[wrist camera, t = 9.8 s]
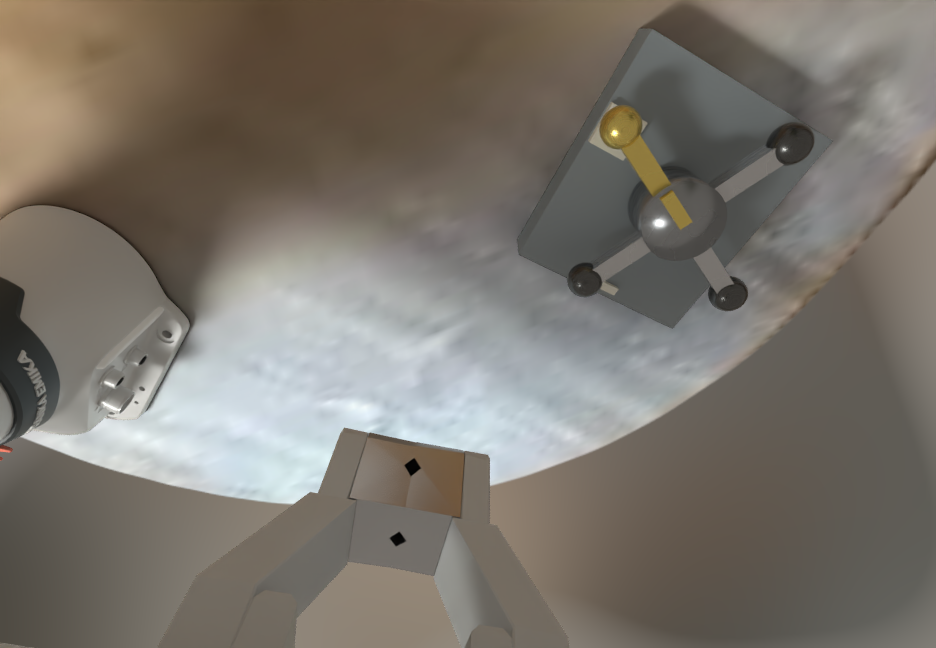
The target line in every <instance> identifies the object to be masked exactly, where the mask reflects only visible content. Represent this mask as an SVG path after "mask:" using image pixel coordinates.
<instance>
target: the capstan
mask: <svg viewBox="0 0 936 648" xmlns="http://www.w3.org/2000/svg"><path fill="white" fill-rule="evenodd" d="M641 131H642V119H641V116H640V114H639V113H638V111H637V110H636V109H634V108H633V107H631V106H627V105H619V106H616V107H613V108H612V109H610V110H609V111H608V112H606V114H605V115H604V116H603V118H602V120H601V122H600V127H599V133H600V137H601V139H602V141H603V142H604V144H605V145H607V146H608V147H610V148H612V149H621V151H622V152H623V154H624V155H625V157H626V158H627V160H628V161H629V163H630V164H631V166H632V167H633V169H634V171H635V172H636V174H637V175H638V177H639V178H640V181H639V182H638V184H637V185H636V186H635V188H634V189H633V191H632V193H631V195H630V198H629V202H628V215H629V219H630V221H631V223H632V225H633V226H634V228H635V229H636V232H634V233H633V234H631V235H630V236H628V237H627V238H625V239H624V240H622V241H621V242H619V243H618V244H616V245H615V246H613V247H612V248H610V249H609V250H608V251H606V252H605V253H603V254H602V255H600V256H599V257H597V258H596V259H594V260H593V261H591V262H590V263H589V262H583V263H579V264H577V265H575V266H574V267H573V268H572V269H571V270H570V272H569V274H568V277H567V283H568V287H569V289H570V290H571V291H572V292H573V293H574V294H575V295H577V296H580V297H590V296H592V295H594V294H596V293H597V292H598V291H599V290H600V288H601V286H602V283H603V282H604V281H606V280H607V279H609V278H610V277H612V276H613V275H615V274H616V273H618V272H619V271H621V270H622V269H624V268H626V267H627V266H629V265H630V264H632V263H633V262H635V261H636V260H638V259H639V258H641V257H642V256H644V255H646V254H647V253H649V252H650V251H651V252H652V253H654V254H655V255H656V256H658V257H660V258H662V259H666V260H670V261H683V260H688V259H691V258H692V259H693V260H694V262H695V263H696V265H697V266H698V268H699V269H700V271H701V272H702V274H703V275H704V277H705V278H706V280H707V281H708V283H709V284H710V288H709V292H708V296H709V300H710V302H711V304H712V305H713V306H714V307H716V308H717V309H719V310H722V311H733V310H736V309H738V308H740V307H741V306H742V305H743V304H744V303H745V301H746V299H747V296H748V290H747V287H746V285H745V284H744V282H743V281H741V280H740V279H738V278H736V277H732V276H729V275H728V273H727V272H726V270H725V269H724V267H723V265H722V264H721V262H720V261H719V259H718V257H717V256H716V254H715V253H714V251H713V250H712V248H711V247H712V246H713V245H714V244H715V243H716V241H717V240H718V239H719V237H720V236H721V234H722V232H723V230H724V228H725V225H726V221H727V207H726V204H725V203H726V202H727V201H729V200H730V199H732V198H733V197H735V196H736V195H738V194H739V193H741V192H743V191H744V190H746V189H747V188H749V187H750V186H752V185H753V184H755V183H756V182H758V181H759V180H761V179H763V178H764V177H766V176H767V175H769V174H770V173H772V172H773V171H775V170H776V169H778V168H779V167H781V166H790V165H794V164H797V163H799V162H801V161H802V160H804V159H805V158H806V157H807V156H808V155H809V154H810V152H811V151H812V149H813V147H814V143H815V137H814V133H813V131H812V130H811V128H810V127H808V126H807V125H805V124H803V123H799V122H790V123H786V124H783V125H781V126H779V127H778V128H776V129H775V130H774V131H773V132H772V133H771V134H770V136H769V137H768V139H767V142H766V144H765V145H763V146H762V147H760V148H759V149H757V150H756V151H754V152H753V153H751V154H750V155H748V156H747V157H745V158H744V159H742V160H741V161H739V162H738V163H736V164H735V165H733V166H732V167H730V168H729V169H728V170H726V171H725V172H723V173H722V174H720V175H719V176H717V177H716V178H714V179H713V180H711V181H710V182H708V183H706V182H704V181H703V180H702V179H700V178H699V177H698V176H696V175H695V174H694V173H692V172H691V171H689V170H687V169H685V168H682V167H677V166H669V167H663V168H661V167H660V166H659V164H658V162H657V161H656V159H655V158H654V156H653V155H652V153H651V151H650V150H649V148H648V147H647V145H646V143H645V142H644V140H643V139H642V137H641V136H640V134H641Z"/></svg>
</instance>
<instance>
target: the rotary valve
mask: <svg viewBox="0 0 936 648" xmlns="http://www.w3.org/2000/svg"><path fill="white" fill-rule="evenodd" d="M619 105H627V106H631V107H633V108H634V109H636V110H637V111H638V113H639V114H640V116H641V119H642V131H641V134H640V136H641V137H642V139H643V140H644V142H645V143H646V145H647V147H648V148H649V150H650V151H651V153H652V155H653V156H654V158H655V159H656V161H657V162H658V164H659V166H660V167H661V168H663V167H669V166H677V167H682V168H685V169H687V170H689V171H691V172H692V173H694V174H695V175H696V176H698V177H699V178H700V179H702V180H703V181H704V182H706V183H708V182H710V181H711V180H713V179H714V178H716V177H717V176H719V175H720V174H722V173H723V172H725V171H726V170H728V169H729V168H730V167H732V166H733V165H735V164H736V163H738V162H739V161H741V160H742V159H744V158H745V157H747V156H748V155H750V154H751V153H753V152H754V151H756V150H757V149H759V148H760V147H762V146H763V145H765V144H766V142H767V139H768V137H769V136H770V134H771V133H772V132H773V131H774V130H775V129H776V128H778V127H779V126H781V125H783V124H786V123H790V122H799V123H803V122H802V121H800V120H799V119H797V118H795V117H794V116H792V115H790V114H789V113H787V112H786V111H784V110H782V109H781V108H779V107H778V106H776V105H774V104H773V103H771V102H770V101H768V100H766V99H765V98H763V97H761V96H760V95H758V94H757V93H755V92H753V91H752V90H750V89H749V88H747V87H745V86H744V85H742V84H741V83H739V82H737V81H736V80H734V79H732V78H731V77H729V76H728V75H726V74H724V73H723V72H721V71H720V70H718V69H716V68H715V67H713V66H711V65H710V64H708V63H707V62H705V61H703V60H702V59H700V58H699V57H697V56H695V55H694V54H692V53H691V52H689V51H687V50H686V49H684V48H682V47H681V46H679V45H678V44H676V43H674V42H673V41H671V40H670V39H668V38H666V37H665V36H663V35H662V34H660V33H658V32H657V31H655V30H653V29H639V30H638V32H637V34H636V35H635V37H634V39H633V40H632V42H631V44H630V46H629V47H628V49H627V51H626V53H625V54H624V56H623V58H622V59H621V61H620V63H619V65H618V66H617V68H616V70H615V72H614V73H613V75H612V77H611V78H610V80H609V82H608V84H607V85H606V87H605V89H604V91H603V92H602V94H601V96H600V97H599V99H598V101H597V103H596V104H595V106H594V108H593V110H592V111H591V113H590V115H589V116H588V118H587V120H586V122H585V123H584V125H583V127H582V129H581V130H580V132H579V134H578V135H577V137H576V139H575V141H574V142H573V144H572V146H571V148H570V149H569V151H568V153H567V154H566V156H565V158H564V160H563V161H562V163H561V165H560V167H559V168H558V170H557V172H556V173H555V175H554V177H553V179H552V180H551V182H550V184H549V185H548V187H547V189H546V191H545V192H544V194H543V196H542V198H541V199H540V201H539V203H538V204H537V206H536V208H535V210H534V211H533V213H532V215H531V217H530V218H529V220H528V222H527V223H526V225H525V227H524V229H523V230H522V232H521V234H520V236H519V237H518V239H517V243H518V253H519V255H520V256H523V257H525V258H527V259H529V260H531V261H533V262H535V263H537V264H539V265H541V266H543V267H545V268H547V269H549V270H552V271H554V272H556V273H558V274H560V275H562V276H564V277H566V278H567V277H568V274H569V272H570V270H571V269H572V268H573V267H574V266H575V265H577V264H579V263H583V262H589V263H590V262H591V261H593V260H594V259H596V258H597V257H599V256H600V255H602V254H603V253H605V252H606V251H608V250H609V249H610V248H612V247H613V246H615V245H616V244H618V243H619V242H621V241H622V240H624V239H625V238H627V237H628V236H630V235H631V234H633V233H634V232H636V229H635V228H634V226H633V225H632V223H631V221H630V219H629V215H628V202H629V198H630V195H631V193H632V191H633V189H634V188H635V186H636V185H637V184H638V182H639V181H640V178H639V177H638V175H637V174H636V172H635V171H634V169H633V167H632V166H631V164H630V163H629V161H628V160H627V158H626V157H625V155H624V154H623V152H622V151H621V149H612V148H610V147H608V146H607V145H605V144H604V142H603V141H602V139H601V137H600V133H599V127H600V122H601V120H602V118H603V116H604V115H605V114H606V112H608V111H609V110H610V109H612V108H613V107H616V106H619ZM803 124H805V123H803ZM805 125H807V124H805ZM807 126H808V125H807ZM808 127H810V126H808ZM810 128H811V127H810ZM811 130H812V131H813V133H814V137H815V143H814V147H813V149H812V151H811V152H810V154H809V155H808V156H807V157H806V158H805V159H804V160H802V161H801V162H799V163H797V164H794V165H790V166H781V167H779V168H778V169H776V170H775V171H773V172H772V173H770V174H769V175H767V176H766V177H764V178H763V179H761V180H759V181H758V182H756V183H755V184H753V185H752V186H750V187H749V188H747V189H746V190H744V191H743V192H741V193H739V194H738V195H736V196H735V197H733V198H732V199H730V200H729V201H727V202H726V203H725V204H726V207H727V221H726V225H725V228H724V230H723V232H722V234H721V236H720V237H719V239H718V240H717V241H716V243H715V244H714V245H713V246H712V247H711V248H712V250H713V251H714V253H715V254H716V256H717V257H718V259H719V261H720V262H721V264H722V265H723V267H724V268H725V267H726V266H727V264H728V263H729V262H730V261H731V260H732V259H733V257H734V256H735V255H736V254H737V253H738V251H739V250H740V249H741V248H742V247H743V246H744V244H745V243H746V242H747V241H748V240H749V239H750V237H751V236H752V235H753V234H754V233H755V232H756V230H757V229H758V228H759V227H760V226H761V225H762V223H763V222H764V221H765V220H766V219H767V218H768V216H769V215H770V214H771V213H772V212H773V211H774V209H775V208H776V207H777V206H778V205H779V204H780V202H781V201H782V200H783V199H784V198H785V197H786V195H787V194H788V193H789V192H790V191H791V190H792V188H793V187H794V186H795V185H796V184H797V183H798V181H799V180H800V179H801V178H802V177H803V176H804V174H805V173H806V172H807V171H808V170H809V169H810V167H811V166H812V165H813V164H814V163H815V162H816V160H817V159H818V158H819V157H820V156H821V155H822V153H823V152H824V151H825V150H826V149H827V148H828V146H829V145H830V144H831V143H832V142H833V141H832V140H831V139H829V138H828V137H826V136H824V135H823V134H821V133H819V132H818V131H816V130H815V129H813V128H811ZM709 285H710V284H709V283H708V281H707V280H706V278H705V277H704V275H703V274H702V272H701V271H700V269H699V268H698V266H697V265H696V263H695V262H694V260H693V259H692V258H691V259H688V260H683V261H670V260H666V259H662V258H660V257H658V256H656V255H655V254H654V253H652V252H651V251H650V252H649V253H647V254H646V255H644V256H642V257H641V258H639V259H638V260H636V261H635V262H633V263H632V264H630V265H629V266H627V267H626V268H624V269H622V270H621V271H619V272H618V273H616V274H615V275H613V276H612V277H610V278H609V279H607V280H606V281H604V282H603V283H602V286H601V288H600V290H599V291H598V292H597V293H599V294H601V295H603V296H605V297H608V298H610V299H612V300H614V301H616V302H618V303H620V304H622V305H624V306H626V307H628V308H630V309H632V310H634V311H637V312H639V313H641V314H643V315H645V316H647V317H649V318H651V319H653V320H655V321H657V322H659V323H661V324H664V325H666V326H668V327H670V328H672V329H673V327H674V326H675V325H676V324H677V323H678V322H679V320H680V319H681V318H682V317H683V316H684V315H685V313H686V312H687V311H688V310H689V309H690V308H691V306H692V305H693V304H694V303H695V302H696V301H697V299H698V298H699V297H700V296H701V295H702V294H703V292H704V291H705V290H706V289H707V288H708V287H709Z"/></svg>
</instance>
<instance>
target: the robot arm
mask: <svg viewBox="0 0 936 648" xmlns="http://www.w3.org/2000/svg"><path fill="white" fill-rule="evenodd" d="M189 326H190V324H189V321H188V319H187V318H186V316H185V315H184V314H183V313H182V312H181V310H180V309H179V308H178V307H177V306H176V305H175V304H174V303H173V302H172V301H170V300H169V299H168V298H167V296H166V295H165V293H164V292H163V290H162V288H161V286H160V285H159V283H158V281H157V279H156V277H155V275H154V273H153V272H152V270H151V269H150V267H149V266H148V264H147V263H146V262H145V260H144V259H143V258H142V257H141V255H140V254H139V253H138V252H137V251H136V250H135V249H134V248H133V247H132V246H131V245H130V244H129V243H128V242H127V241H125V240H124V239H123V238H122V237H121V236H119V235H118V234H117V233H115V232H114V231H113V230H111V229H110V228H108V227H107V226H105V225H103V224H102V223H100V222H98V221H96V220H94V219H92V218H90V217H88V216H86V215H83V214H81V213H78V212H75V211H72V210H69V209H65V208H61V207H55V206H46V205H36V206H28V207H23V208H20V209H17V210H15V211H13V212H11V213H9V214H8V215H6V216H5V217H4V218H3V219H1V220H0V452H12V450H13V449H12V448H10V447H7V446H4V445H3V444H5V443H7V442H9V441H12V440H14V439H16V438H18V437H20V436H22V435H24V434H27V433H29V432H30V431H32V430H33V431H39V432H45V433H51V434H59V435H77V434H82V433H86V432H88V431H90V430H91V429H93V428H94V427H95V426H96V425H97V424H98V423H100V422H101V421H102V420H103V419H104V418H107V419H114V420H134V419H138V418H139V417H140V416H141V415H142V414H144V412H145V411H146V409H147V408H148V406H149V404H150V402H151V400H152V398H153V396H154V394H155V393H156V391H157V389H158V387H159V385H160V383H161V381H162V379H163V377H164V375H165V374H166V372H167V370H168V368H169V366H170V364H171V362H172V360H173V358H174V357H175V355H176V353H177V351H178V349H179V347H180V345H181V343H182V341H183V339H184V338H185V336H186V334H187V332H188V330H189ZM168 331H169V332H170V333H169V332H168ZM0 460H3V458H2V457H0ZM347 562H355V563H362V564H369V565H376V566H383V567H391V568H396V569H401V570H406V571H411V572H416V573H422V574H426V575H431V576H434V581H435V583H436V586H437V588H438V591H439V593H440V596H441V598H442V601H443V603H444V606H445V608H446V611H447V613H448V616H449V618H450V621H451V623H452V626H453V628H454V631H455V633H456V636H457V638H458V641H459V643H460V646H461V648H569V640H568V636H567V635H566V633H565V632H564V630H563V628H562V627H561V625H560V624H559V622H558V620H557V619H556V617H555V616H554V614H553V613H552V611H551V609H550V608H549V607H548V605H547V603H546V602H545V600H544V599H543V597H542V596H541V594H540V592H539V591H538V589H537V588H536V586H535V584H534V583H533V581H532V580H531V578H530V577H529V575H528V573H527V572H526V570H525V569H524V567H523V566H522V564H521V563H520V561H519V559H518V558H517V556H516V555H515V553H514V551H513V550H512V548H511V547H510V545H509V544H508V542H507V540H506V539H505V537H504V536H503V534H502V533H501V531H500V530H499V528H498V526H497V525H492V524H490V458H489V456H488V455H485V454H480V453H474V452H469V451H463V450H458V449H452V448H446V447H441V446H435V445H430V444H424V443H418V442H417V443H416V442H411V441H407V440H402V439H397V438H393V437H388V436H383V435H379V434H374V433H367V432H362V431H358V430H353V429H348V428H344V429H343V431H342V432H341V433H340V436H339V439H338V441H337V444H336V447H335V449H334V452H333V455H332V457H331V460H330V463H329V465H328V468H327V471H326V473H325V476H324V479H323V481H322V484H321V487H320V489H319V492H318V493H313V492H310V493H308V494H307V495H306V496H304V497H303V498H302V499H300V500H299V501H298V502H296V503H295V504H293V505H292V506H291V507H289V508H288V509H287V510H285V511H284V512H283V513H281V514H280V515H278V516H277V517H276V518H274V519H273V520H272V521H270V522H269V523H268V524H266V525H265V526H263V527H262V528H261V529H259V530H258V531H257V532H256V533H254V534H253V535H251V536H250V537H249V538H247V539H246V540H244V541H243V542H242V543H240V544H239V545H238V546H236V547H235V548H233V549H232V550H231V551H229V552H228V553H227V554H225V555H224V556H223V557H221V558H220V559H219V560H217V561H216V562H215V563H213V564H212V565H210V566H209V567H208V568H206V569H205V570H204V571H202V572H201V573H200V574H198V575H197V576H196V578H195V579H194V581H193V583H192V585H191V587H190V588H189V590H188V592H187V594H186V596H185V597H184V600H183V601H182V603H181V605H180V607H179V609H178V610H177V612H176V614H175V616H174V618H173V619H172V621H171V623H170V625H169V627H168V629H167V631H166V632H165V634H164V636H163V638H162V640H161V641H160V643H159V645H158V647H157V648H295V634H296V619H297V617H298V616H299V615H300V614H301V613H302V612H303V611H304V610H305V609H306V608H307V607H308V606H309V605H310V603H311V602H312V601H313V600H314V599H315V598H316V597H317V596H318V595H319V593H321V592H322V591H323V590H324V588H325V587H326V586H327V585H328V584H329V583H330V582H331V581H332V580H333V579H334V578H335V577H336V576H337V575H338V574H339V572H340V571H341V570H342V569H343V568H344V567H345V566H346V565H347ZM0 648H30V647H23V646H17V645H10V644H4V643H0Z"/></svg>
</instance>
